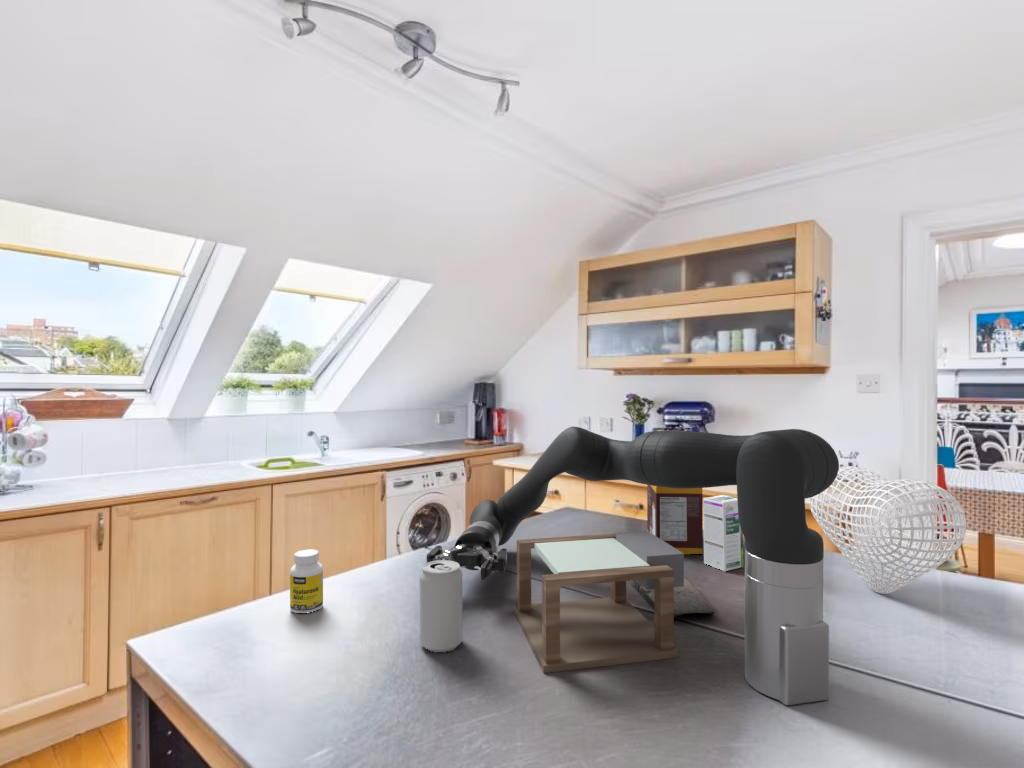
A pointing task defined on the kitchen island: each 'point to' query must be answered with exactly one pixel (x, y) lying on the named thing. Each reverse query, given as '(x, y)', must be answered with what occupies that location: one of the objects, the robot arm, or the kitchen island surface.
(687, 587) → the stone slab
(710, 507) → the syrup box
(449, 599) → the beverage can
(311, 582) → the supplement bottle
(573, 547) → the trapdoor plate
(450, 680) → the kitchen island surface
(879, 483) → the heart
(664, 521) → the supplement box
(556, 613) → the wooden rack
